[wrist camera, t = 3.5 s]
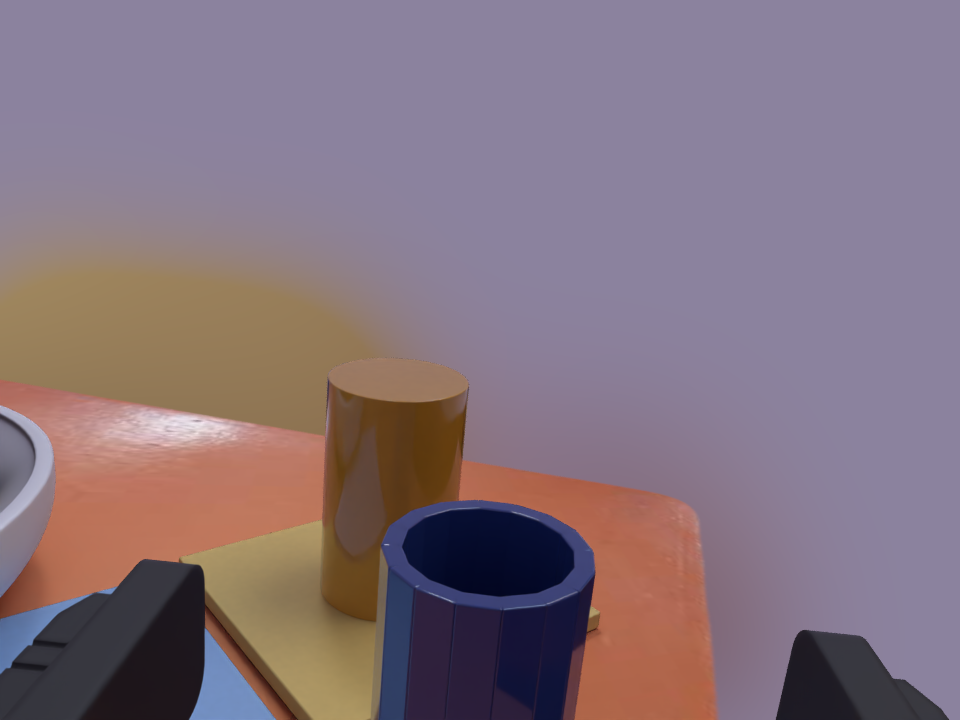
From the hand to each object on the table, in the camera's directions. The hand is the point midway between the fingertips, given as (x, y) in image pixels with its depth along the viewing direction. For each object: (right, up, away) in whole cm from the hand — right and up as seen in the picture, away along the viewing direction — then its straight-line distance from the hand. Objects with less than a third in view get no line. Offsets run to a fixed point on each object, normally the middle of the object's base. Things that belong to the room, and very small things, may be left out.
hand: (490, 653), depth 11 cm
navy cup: (-1, -11, +15) cm, 18 cm away
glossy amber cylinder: (-4, -6, +26) cm, 28 cm away
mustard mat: (-5, -7, +27) cm, 28 cm away
